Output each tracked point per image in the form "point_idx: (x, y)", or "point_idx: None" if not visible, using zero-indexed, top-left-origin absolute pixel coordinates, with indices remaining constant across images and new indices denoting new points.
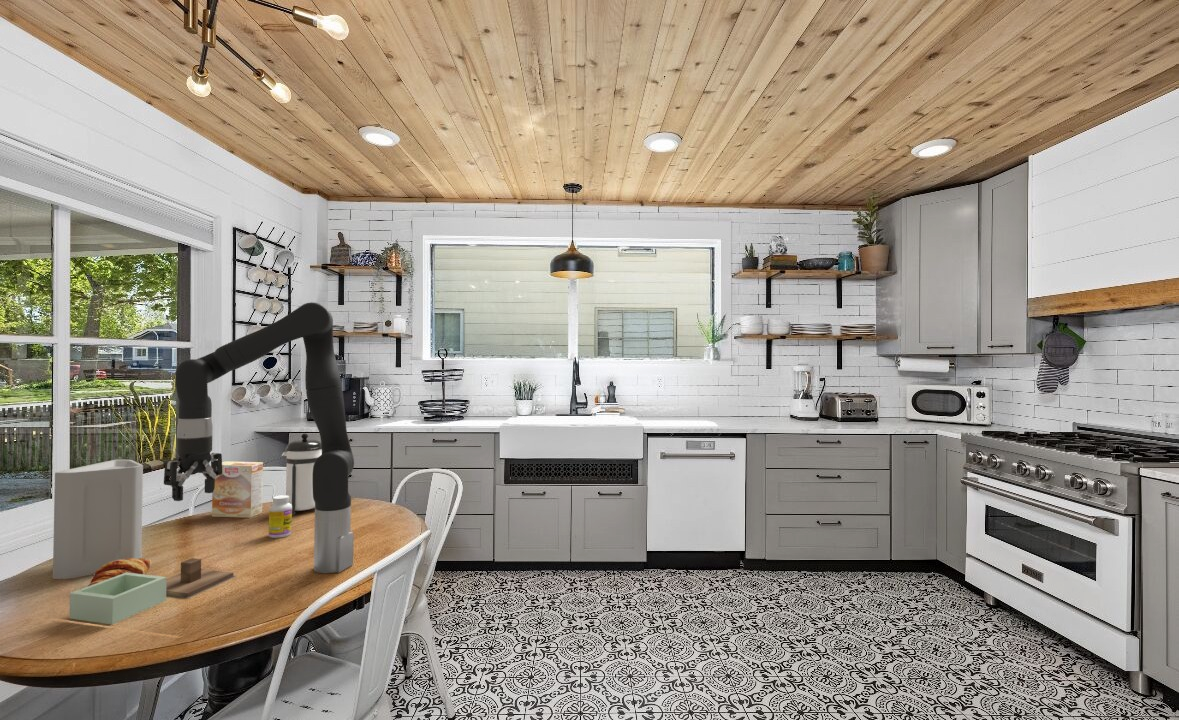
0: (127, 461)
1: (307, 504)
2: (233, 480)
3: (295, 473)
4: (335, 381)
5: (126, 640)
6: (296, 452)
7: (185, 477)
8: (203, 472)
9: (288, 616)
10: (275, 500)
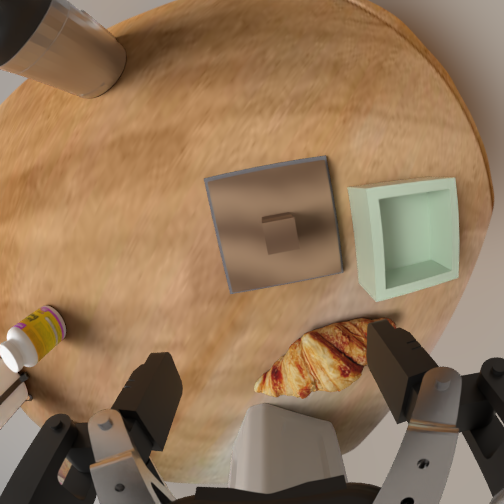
0: None
1: (4, 366)
2: (64, 474)
3: None
4: None
5: (436, 110)
6: None
7: (437, 424)
8: (166, 492)
9: None
10: (17, 358)
